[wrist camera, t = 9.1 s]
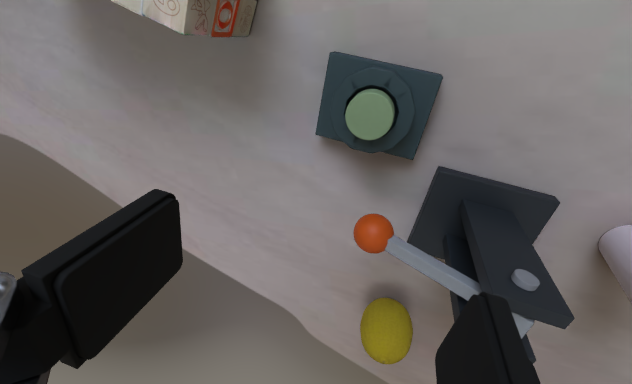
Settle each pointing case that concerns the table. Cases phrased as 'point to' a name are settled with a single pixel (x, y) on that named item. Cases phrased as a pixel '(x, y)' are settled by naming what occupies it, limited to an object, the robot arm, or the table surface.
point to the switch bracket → (492, 242)
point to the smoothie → (619, 255)
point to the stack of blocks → (197, 15)
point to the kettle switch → (420, 260)
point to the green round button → (370, 114)
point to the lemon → (386, 330)
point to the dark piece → (396, 81)
